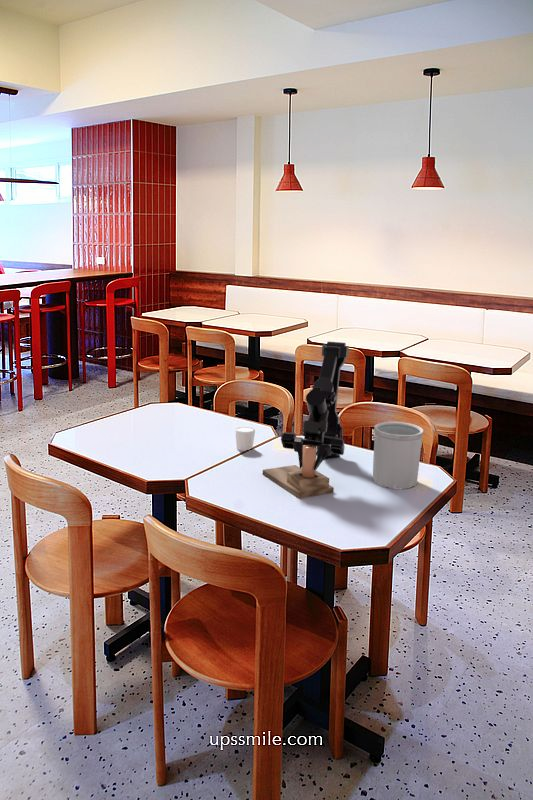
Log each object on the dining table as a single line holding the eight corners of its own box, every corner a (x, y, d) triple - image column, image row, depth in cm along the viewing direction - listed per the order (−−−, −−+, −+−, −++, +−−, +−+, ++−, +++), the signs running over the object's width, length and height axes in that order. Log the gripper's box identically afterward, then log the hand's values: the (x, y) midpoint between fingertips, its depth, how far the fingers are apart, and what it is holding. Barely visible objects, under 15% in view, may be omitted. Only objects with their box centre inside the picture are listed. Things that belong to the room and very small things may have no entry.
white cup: (231, 449, 238) (232, 430, 236) (239, 444, 244) (240, 425, 242) (249, 452, 235) (250, 433, 234) (257, 447, 241) (258, 428, 240)
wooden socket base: (295, 469, 220) (295, 456, 219) (333, 492, 201) (334, 478, 200) (262, 474, 214) (263, 460, 213) (299, 498, 196) (299, 483, 195)
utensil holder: (403, 494, 202) (408, 437, 198) (361, 481, 212) (365, 427, 207) (427, 482, 213) (432, 428, 209) (385, 470, 223) (390, 418, 218)
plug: (309, 479, 205) (311, 444, 202) (317, 483, 201) (319, 448, 199) (298, 481, 203) (300, 446, 200) (305, 485, 200) (307, 449, 197)
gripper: (283, 406, 203) (272, 452, 195) (345, 412, 198) (337, 459, 191) (288, 424, 212) (278, 469, 205) (347, 431, 208) (339, 477, 200)
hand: (307, 468), depth 200 cm, fingers closed on plug, 4 cm apart
